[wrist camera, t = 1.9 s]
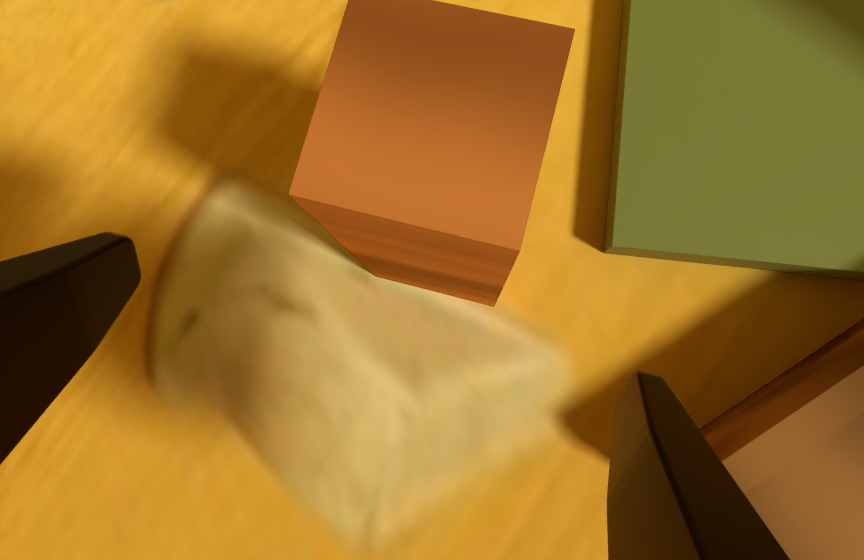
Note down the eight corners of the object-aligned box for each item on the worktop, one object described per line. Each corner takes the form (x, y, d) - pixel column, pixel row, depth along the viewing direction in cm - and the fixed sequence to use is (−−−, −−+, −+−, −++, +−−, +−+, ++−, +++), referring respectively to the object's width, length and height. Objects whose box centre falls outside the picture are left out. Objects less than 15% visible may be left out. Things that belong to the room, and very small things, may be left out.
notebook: (866, 280, 19) (892, 274, 18) (604, 252, 20) (612, 245, 19) (868, -31, 21) (893, -55, 20) (627, -45, 22) (636, -69, 20)
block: (494, 306, 20) (519, 250, 10) (375, 276, 20) (288, 194, 10) (523, 190, 20) (575, 28, 11) (407, 163, 21) (353, -17, 11)
